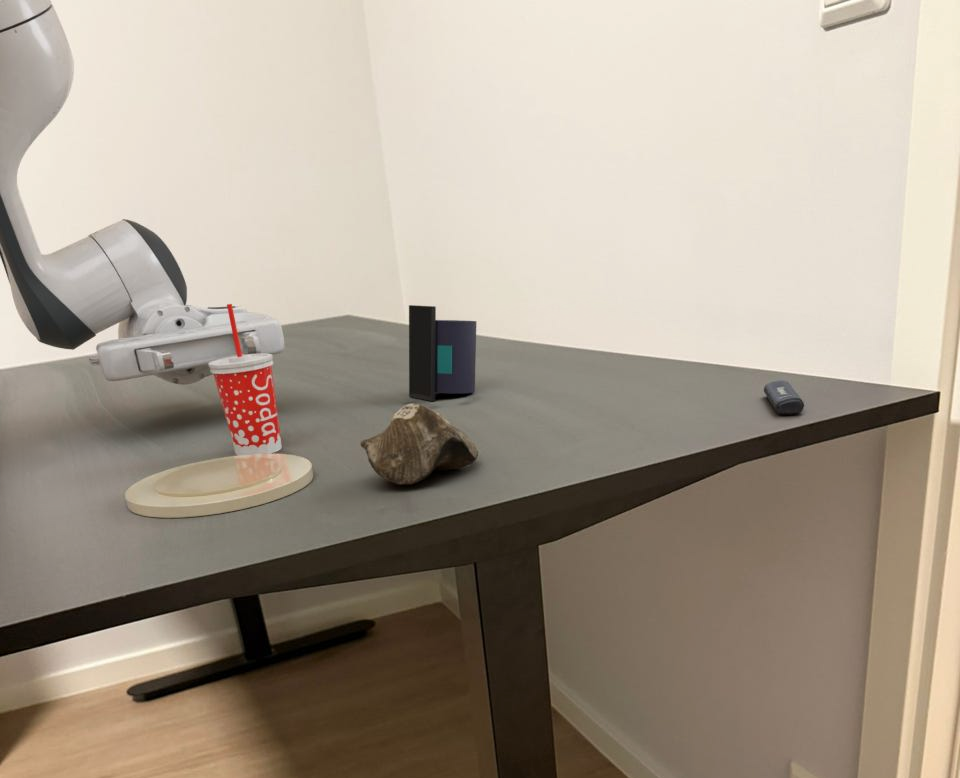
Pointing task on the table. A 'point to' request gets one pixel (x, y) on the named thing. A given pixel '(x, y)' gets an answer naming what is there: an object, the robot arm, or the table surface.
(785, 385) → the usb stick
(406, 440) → the fossilized seashell
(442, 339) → the speaker
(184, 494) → the plate
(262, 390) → the beverage cup
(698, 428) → the table surface
